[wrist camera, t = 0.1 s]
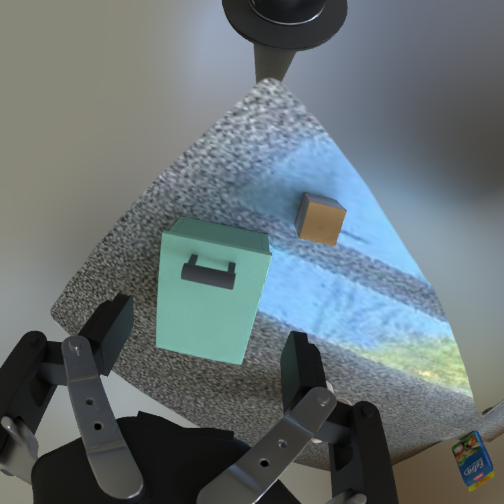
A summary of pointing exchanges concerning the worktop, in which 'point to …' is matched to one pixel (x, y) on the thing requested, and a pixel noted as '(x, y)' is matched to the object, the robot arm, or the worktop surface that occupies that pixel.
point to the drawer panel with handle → (208, 296)
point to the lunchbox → (221, 233)
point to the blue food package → (473, 460)
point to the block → (319, 219)
